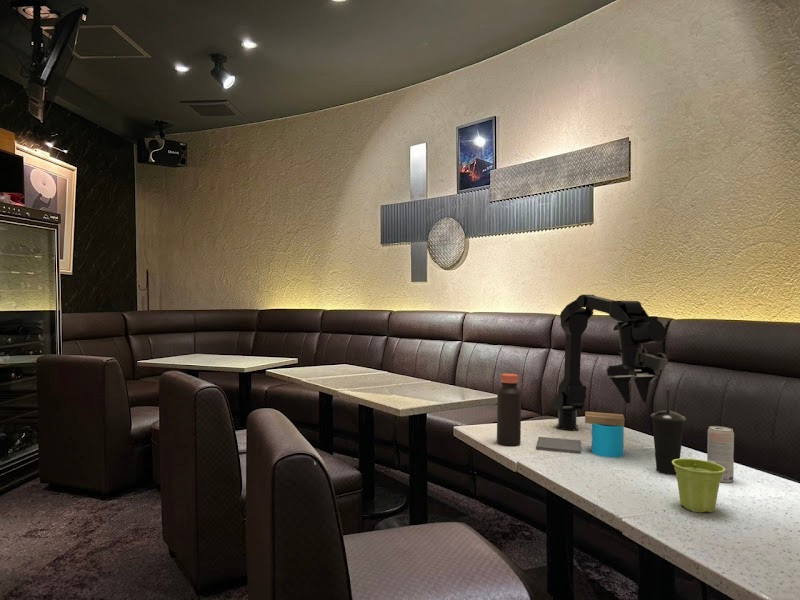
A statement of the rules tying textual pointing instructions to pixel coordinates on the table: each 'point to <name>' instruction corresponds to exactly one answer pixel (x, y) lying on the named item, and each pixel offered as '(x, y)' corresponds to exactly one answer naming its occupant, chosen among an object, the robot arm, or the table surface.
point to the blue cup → (607, 440)
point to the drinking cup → (667, 438)
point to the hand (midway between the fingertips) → (637, 402)
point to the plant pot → (698, 483)
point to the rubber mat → (559, 445)
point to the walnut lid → (604, 418)
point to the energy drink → (721, 450)
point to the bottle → (509, 411)
